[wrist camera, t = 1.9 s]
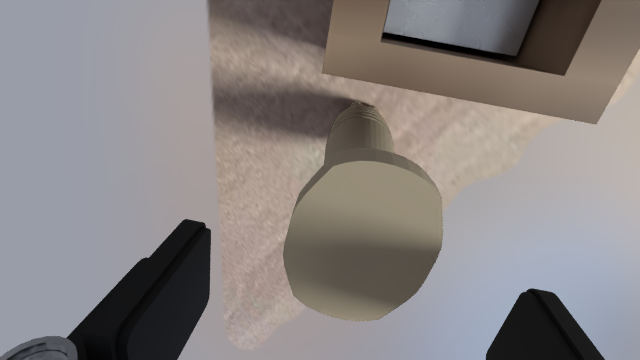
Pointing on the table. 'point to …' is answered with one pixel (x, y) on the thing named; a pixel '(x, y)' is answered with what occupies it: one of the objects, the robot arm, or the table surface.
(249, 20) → the table surface
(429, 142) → the table surface
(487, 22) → the dark glossy panel
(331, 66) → the sleeve
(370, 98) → the table surface
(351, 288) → the handle
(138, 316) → the robot arm
